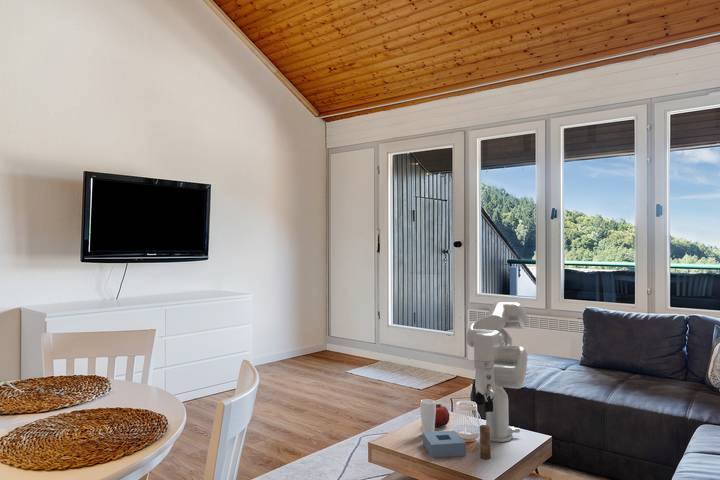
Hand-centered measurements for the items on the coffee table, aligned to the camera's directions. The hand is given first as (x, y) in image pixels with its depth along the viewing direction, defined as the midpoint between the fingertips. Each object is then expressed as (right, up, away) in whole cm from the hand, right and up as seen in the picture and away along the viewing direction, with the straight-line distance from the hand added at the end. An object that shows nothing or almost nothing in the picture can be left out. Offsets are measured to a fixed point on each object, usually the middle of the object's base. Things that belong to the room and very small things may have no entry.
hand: (484, 407), depth 207 cm
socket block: (-15, -20, +8) cm, 26 cm away
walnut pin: (0, -19, 0) cm, 19 cm away
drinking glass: (-19, -20, +25) cm, 37 cm away
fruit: (-12, -20, +37) cm, 44 cm away
